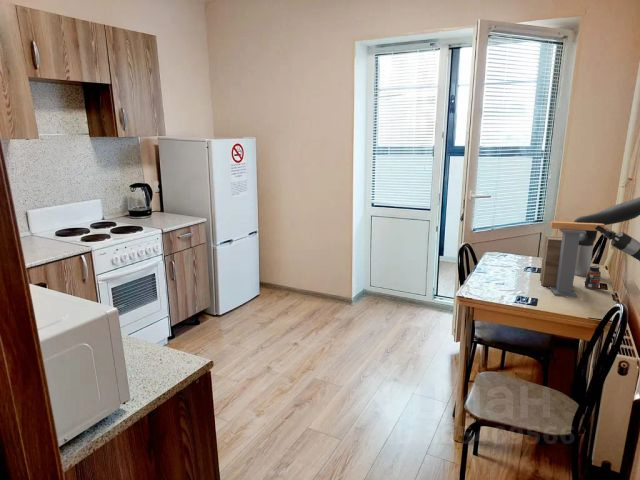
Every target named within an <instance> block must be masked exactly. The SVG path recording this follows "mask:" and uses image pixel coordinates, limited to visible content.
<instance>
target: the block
mask: <svg viewBox="0 0 640 480" xmlns="http://www.w3.org/2000/svg"><path fill="white" fill-rule="evenodd" d="M597 225H599V226H601V227H603V228H605V226H606V225H604V224H598V223H577V222H574V221H550V227H549V228H550V229H552V230H554V229H555V230H559V229H570V230H590V231H597V232H599V231H598V230H596V229H595V227H596V226H597Z"/></svg>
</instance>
